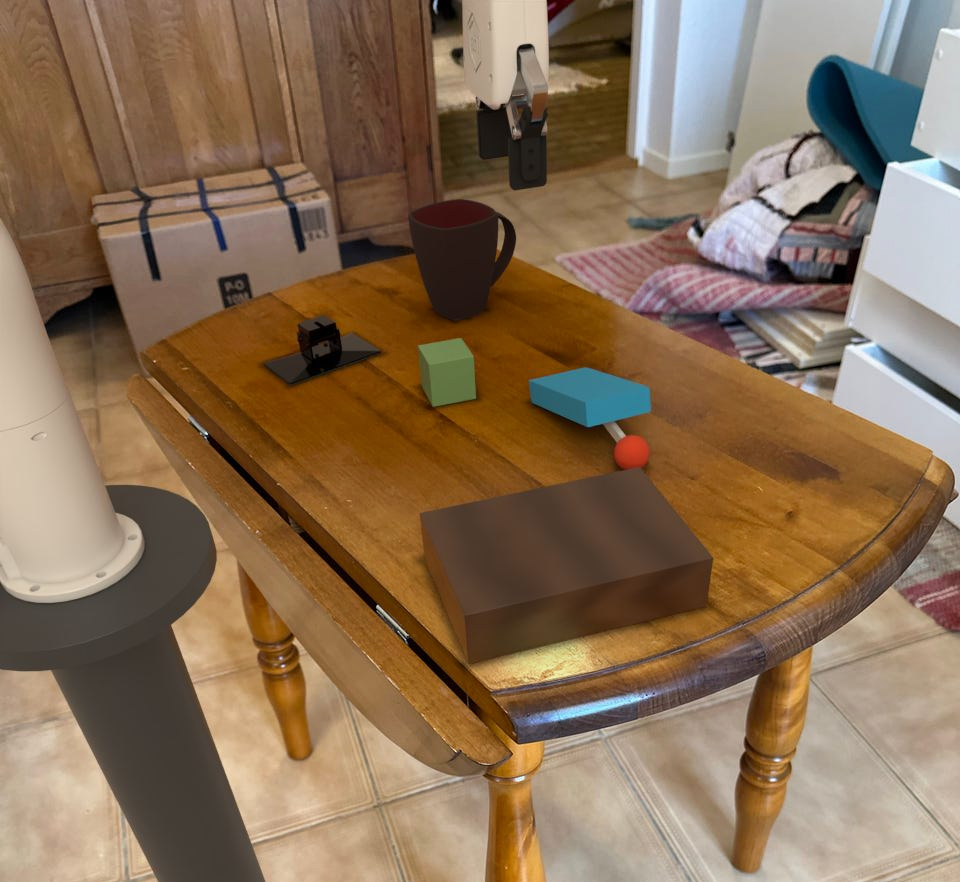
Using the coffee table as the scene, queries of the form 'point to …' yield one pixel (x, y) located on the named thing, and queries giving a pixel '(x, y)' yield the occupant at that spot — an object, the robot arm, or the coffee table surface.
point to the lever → (597, 406)
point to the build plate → (320, 351)
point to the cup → (460, 254)
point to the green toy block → (447, 372)
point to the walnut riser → (562, 563)
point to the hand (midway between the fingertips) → (511, 171)
